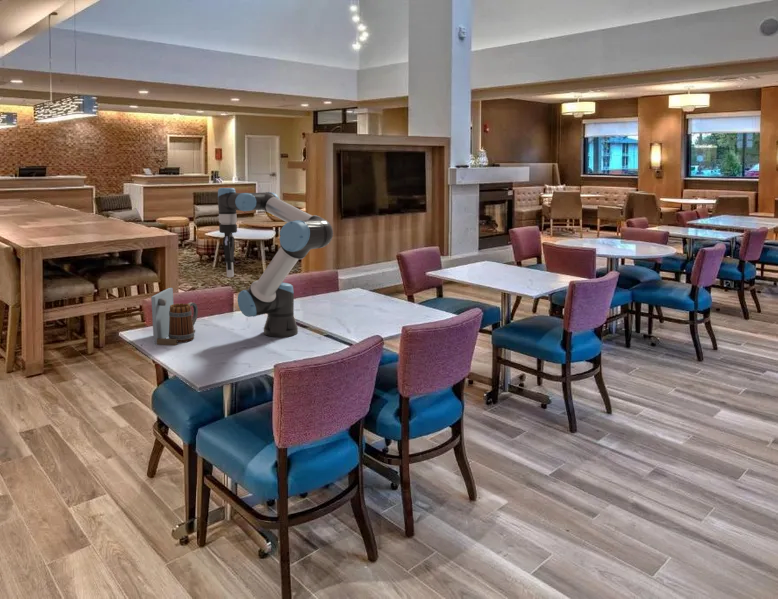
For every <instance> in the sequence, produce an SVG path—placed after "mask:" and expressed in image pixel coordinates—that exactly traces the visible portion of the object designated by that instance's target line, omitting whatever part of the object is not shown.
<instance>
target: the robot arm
mask: <svg viewBox="0 0 778 599" xmlns="http://www.w3.org/2000/svg"><path fill="white" fill-rule="evenodd" d="M217 205H218V206H217V207H218V215H217V219H218V222H219V225H218V226H219V228H218V229H219V233H220V234H224V236H222V237H223V240H222V244H223V251H224V261H223V262H224V263H226V265H225V266H226V277H227V278H233V277H235V276H234V275H235V274H234V273H235V272H234V263H235V262H236V260H235V255H234V254H235V249H234V248H235V245H234V244H235V237H234V236H233V235H234V234H236V233H237V232H238V225H237V222H238V218H237V211H239V212H240V211H241V212H251V211H264V212H267V213H268V214H271V216H274V217H276V218H278V219H280V220H282V221H283V222H285V224H284V225H283V226H282V228H281V229H280V232H279V235H280V236H279V245H280V247H279V249H278V250H277V251H276V253H275V255H274V256H273V257H272V260H271V261H270V262H269V263H268V265H267V267H266V268H265V270H264V271H263V273H262V275H261V276H260V277H259V279H258V280H254V281H253V282H251V284H250V286H249V287H248V288H247V289H243V290H241V291H239V293H238V294H237V306H238V308H239V311H240V312H241V313H242V314H243V315H244V316H245V317H248V318H252V317H253V318H255V317H258V316H263V315H265V314H267V317H266V321H265V324H264V327H263V334H264V335H265V336H268V337H273V338H274V337H275V338H285V337H286V338H287V337H292V336H295V335H297V334H298V332H299V327H298V325H297V322H296V319H295V315H294V314H295V313H294V311H295V308H294V307H295V306H294V303H295V302H294V300H295V298H294V296H295V295H294V294H295V293H294V285H292V284H291V283H289V282H284V281H285V279H286V278H287V276H288V275H289V273H290V272H291V271H292V269H293V268H294V267H295V265H296V264H297V262H299V260H303V259H304V258H305V257H306V256H307V255H308V254H309V252H310V251H311V250H316V249H322V248H325V247H326V246H328V245H329V244H330V243H331V241H332V239H333V236H334V230H333V229H334V228H333V226H332V224H331V223H330V222H329V221H328V220H326V219H325V218H323V217H322V216H319V215H316V214H314V215H312V214H310V213H308V212H305V211H303V210H302V209H300V208H298V207H296V206H293V204H291V203H288V202H286V201H283V200H282V199H281V198H279V196H278V194H277V193H276V192H270V191H265V192H236V188H234V187H219V188H218V189H217Z"/></svg>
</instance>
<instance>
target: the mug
mask: <svg viewBox="0 0 778 599" xmlns="http://www.w3.org/2000/svg"><path fill="white" fill-rule="evenodd" d="M191 308H192V309H193V312H192V309H191ZM192 313H193V314H192ZM198 313H199V310H198V306H197V303H196V302H188V303H173V305H170V311H169V316H170V317H169V336H168V338H171V339H177V343H188V342H192V341H193V340H194V339H195V333H196V329H194V330H193V326H195V324H196V322H197V318H198Z"/></svg>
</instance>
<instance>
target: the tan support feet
mask: <svg viewBox="0 0 778 599" xmlns="http://www.w3.org/2000/svg"><path fill="white" fill-rule="evenodd" d="M194 326H195V325H194ZM194 326H193V330H195V329H194V328H195V327H194ZM177 345H178V342H177V339H171V338H169V337H167V338H157V344H156V346H177Z"/></svg>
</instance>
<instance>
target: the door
mask: <svg viewBox="0 0 778 599" xmlns="http://www.w3.org/2000/svg"><path fill="white" fill-rule="evenodd" d="M150 300H151V314H152V315H151V317H152V334H153V344H155V345H157V338H169V317H170V316H169V311H170V305H173V304H174V289H173V287H168V288H166V289H164V290H162V291H159V292H158V293H156V294H154V295H152V296H151V298H150Z"/></svg>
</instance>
